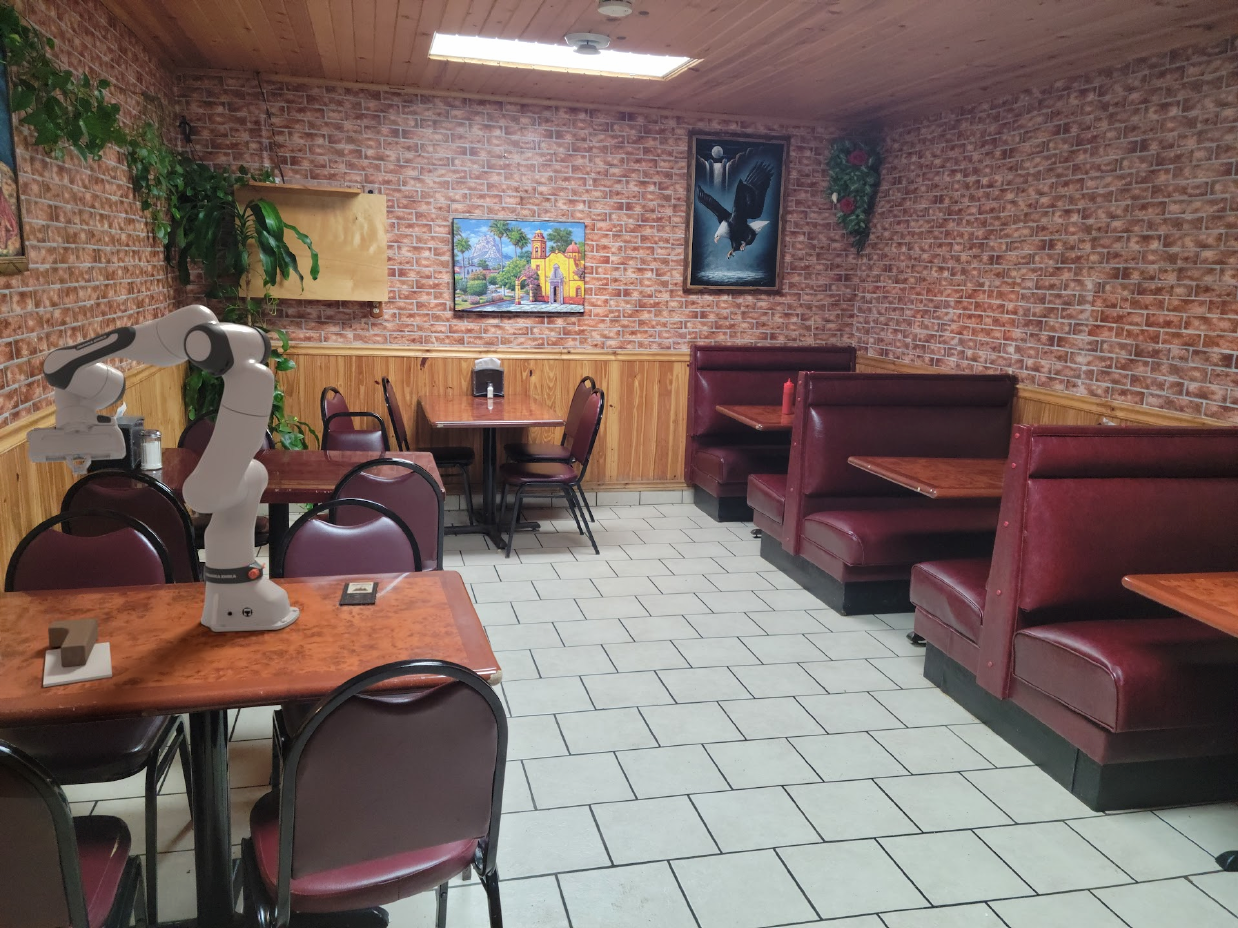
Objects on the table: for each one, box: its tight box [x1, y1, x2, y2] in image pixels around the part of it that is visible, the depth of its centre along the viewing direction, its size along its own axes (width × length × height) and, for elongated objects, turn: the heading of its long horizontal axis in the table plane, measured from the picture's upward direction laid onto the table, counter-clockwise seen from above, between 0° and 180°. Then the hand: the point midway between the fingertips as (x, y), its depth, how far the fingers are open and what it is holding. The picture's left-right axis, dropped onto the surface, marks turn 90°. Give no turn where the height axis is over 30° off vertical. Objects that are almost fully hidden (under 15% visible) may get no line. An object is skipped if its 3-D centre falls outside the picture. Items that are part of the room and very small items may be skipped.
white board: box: [42, 641, 113, 688], centre depth 193 cm, size 20×12×1 cm, turn 30°
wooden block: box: [47, 617, 99, 667], centre depth 198 cm, size 9×4×18 cm
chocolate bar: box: [338, 581, 379, 607], centre depth 245 cm, size 9×1×18 cm
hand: (79, 472), depth 217 cm, fingers closed
